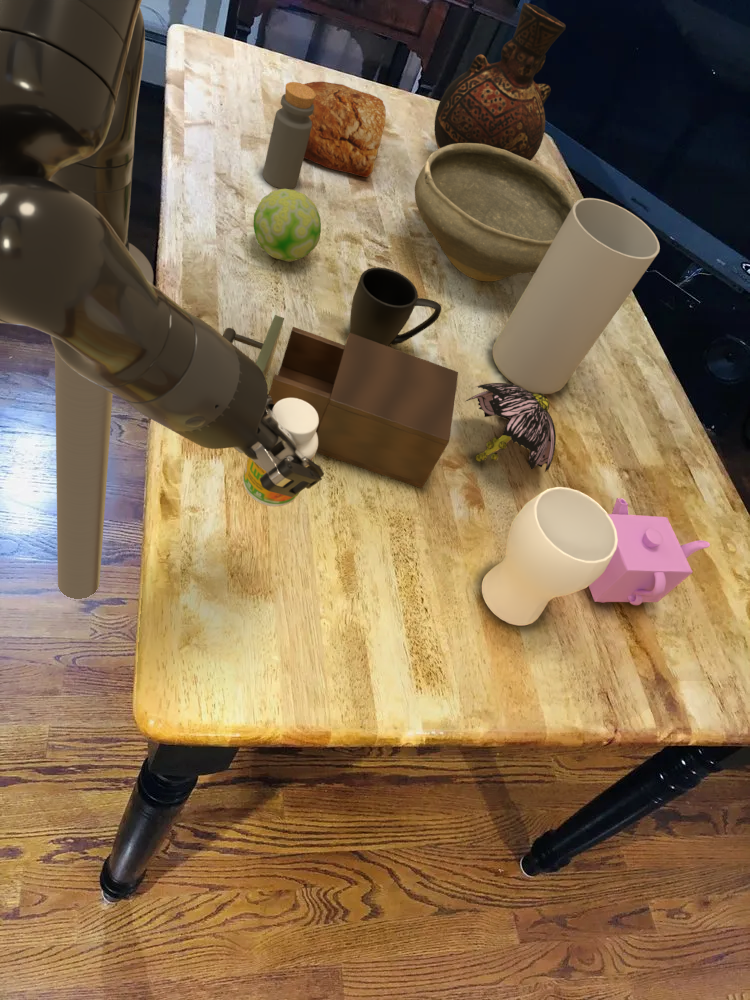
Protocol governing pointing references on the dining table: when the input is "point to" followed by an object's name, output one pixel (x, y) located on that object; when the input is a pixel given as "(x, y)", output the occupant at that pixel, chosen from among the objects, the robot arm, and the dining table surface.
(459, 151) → the bowl
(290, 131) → the bottle
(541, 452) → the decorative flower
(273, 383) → the drawer
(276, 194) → the decorative ball
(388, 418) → the cabinet
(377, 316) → the mug
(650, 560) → the teapot
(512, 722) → the dining table surface
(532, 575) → the cup
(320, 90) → the bread
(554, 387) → the cylinder vase
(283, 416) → the supplement bottle
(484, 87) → the ceramic vessel
